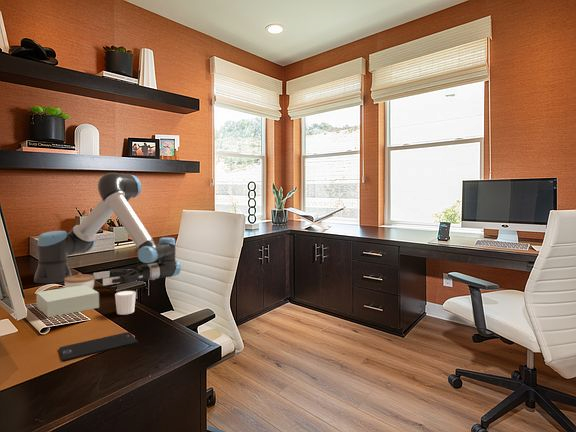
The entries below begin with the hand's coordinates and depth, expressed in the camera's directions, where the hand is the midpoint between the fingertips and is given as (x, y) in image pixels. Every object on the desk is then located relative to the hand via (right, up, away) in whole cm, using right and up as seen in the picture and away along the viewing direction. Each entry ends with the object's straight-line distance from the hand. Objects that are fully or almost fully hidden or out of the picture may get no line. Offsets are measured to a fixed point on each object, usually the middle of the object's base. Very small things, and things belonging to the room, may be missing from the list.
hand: (98, 279), depth 144 cm
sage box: (0, -7, -19) cm, 20 cm away
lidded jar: (-5, -6, -4) cm, 9 cm away
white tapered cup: (+23, -8, -23) cm, 33 cm away
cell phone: (+29, -10, -50) cm, 59 cm away
